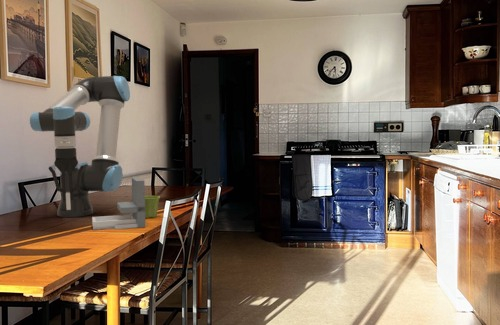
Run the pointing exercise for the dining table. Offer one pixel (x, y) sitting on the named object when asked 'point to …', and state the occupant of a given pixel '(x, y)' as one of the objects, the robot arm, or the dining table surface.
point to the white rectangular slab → (112, 221)
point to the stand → (134, 205)
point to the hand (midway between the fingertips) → (68, 209)
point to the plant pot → (151, 206)
